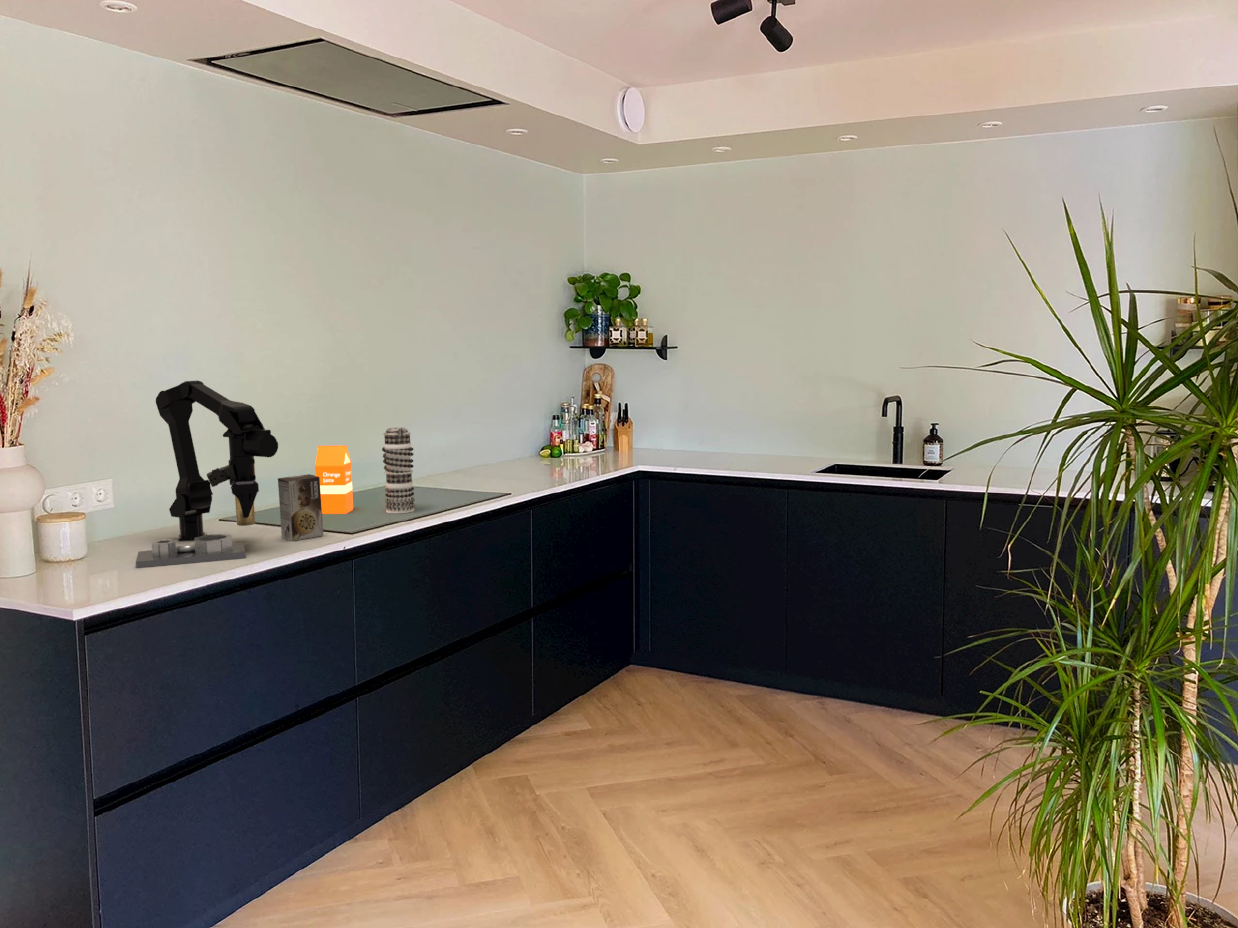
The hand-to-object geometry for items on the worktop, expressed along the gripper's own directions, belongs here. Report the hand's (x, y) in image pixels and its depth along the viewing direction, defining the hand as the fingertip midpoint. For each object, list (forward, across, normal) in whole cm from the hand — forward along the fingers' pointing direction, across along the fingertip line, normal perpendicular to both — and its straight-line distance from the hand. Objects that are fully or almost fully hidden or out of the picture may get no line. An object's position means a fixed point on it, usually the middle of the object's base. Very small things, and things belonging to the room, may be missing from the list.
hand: (245, 516), depth 259 cm
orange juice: (+8, -40, +27) cm, 49 cm away
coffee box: (+8, -5, +14) cm, 17 cm away
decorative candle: (+8, -32, +45) cm, 56 cm away
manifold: (+8, +9, -13) cm, 18 cm away
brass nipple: (+2, 0, 0) cm, 2 cm away
